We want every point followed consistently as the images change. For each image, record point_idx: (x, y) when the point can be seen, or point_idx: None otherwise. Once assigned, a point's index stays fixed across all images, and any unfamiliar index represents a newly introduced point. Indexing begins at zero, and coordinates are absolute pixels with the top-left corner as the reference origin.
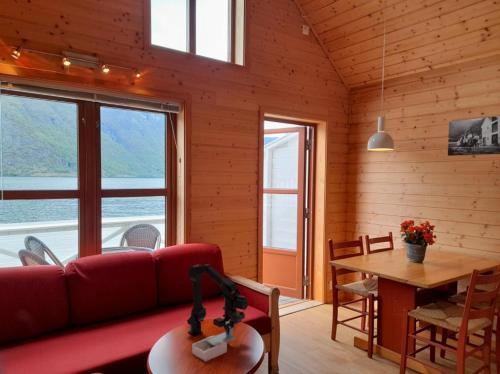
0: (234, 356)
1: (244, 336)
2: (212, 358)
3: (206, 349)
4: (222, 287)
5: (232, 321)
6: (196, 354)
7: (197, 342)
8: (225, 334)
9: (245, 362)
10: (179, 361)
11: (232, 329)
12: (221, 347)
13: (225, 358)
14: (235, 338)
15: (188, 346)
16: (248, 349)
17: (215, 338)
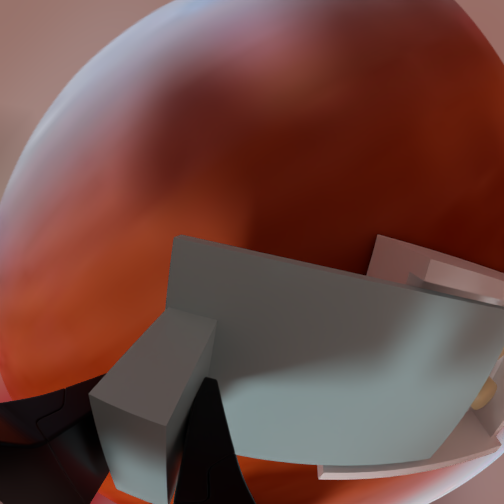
0: (396, 118)
1: (38, 268)
2: (501, 272)
3: None
4: None
5: (7, 500)
6: (497, 382)
7: (478, 453)
8: None
9: (400, 8)
10: None
11: (126, 382)
12: (478, 269)
13: (462, 179)
14: (189, 237)
15: None
16: (189, 77)
17: (371, 438)
